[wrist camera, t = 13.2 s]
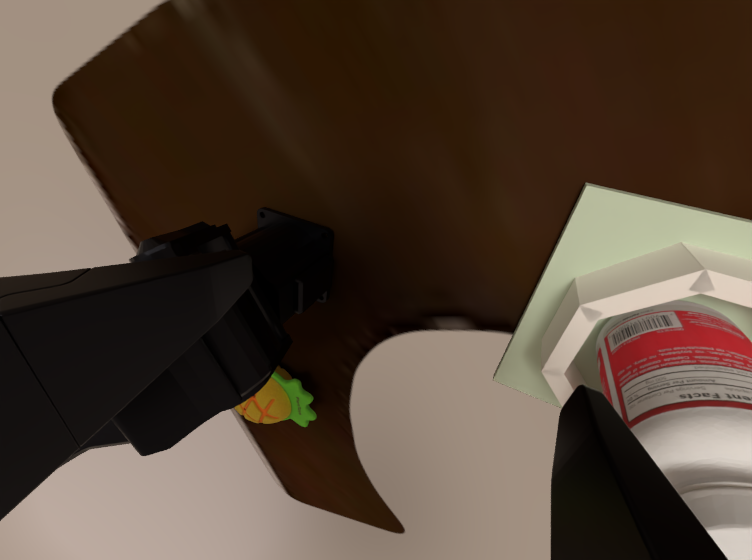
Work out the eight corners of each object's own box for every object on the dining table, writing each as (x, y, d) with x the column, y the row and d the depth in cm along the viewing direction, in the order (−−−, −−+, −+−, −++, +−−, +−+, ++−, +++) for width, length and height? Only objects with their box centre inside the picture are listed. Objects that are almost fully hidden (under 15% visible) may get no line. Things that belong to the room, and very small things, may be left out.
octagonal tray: (494, 374, 24) (486, 412, 21) (585, 182, 17) (593, 201, 14) (725, 468, 20) (755, 530, 17) (984, 273, 13) (1112, 326, 10)
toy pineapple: (244, 340, 35) (202, 374, 31) (324, 361, 31) (289, 403, 27) (259, 387, 39) (223, 424, 34) (334, 412, 35) (304, 457, 30)
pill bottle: (694, 406, 19) (827, 686, 10) (575, 364, 20) (597, 570, 12) (777, 319, 15) (1086, 623, 7) (627, 279, 17) (711, 475, 8)
